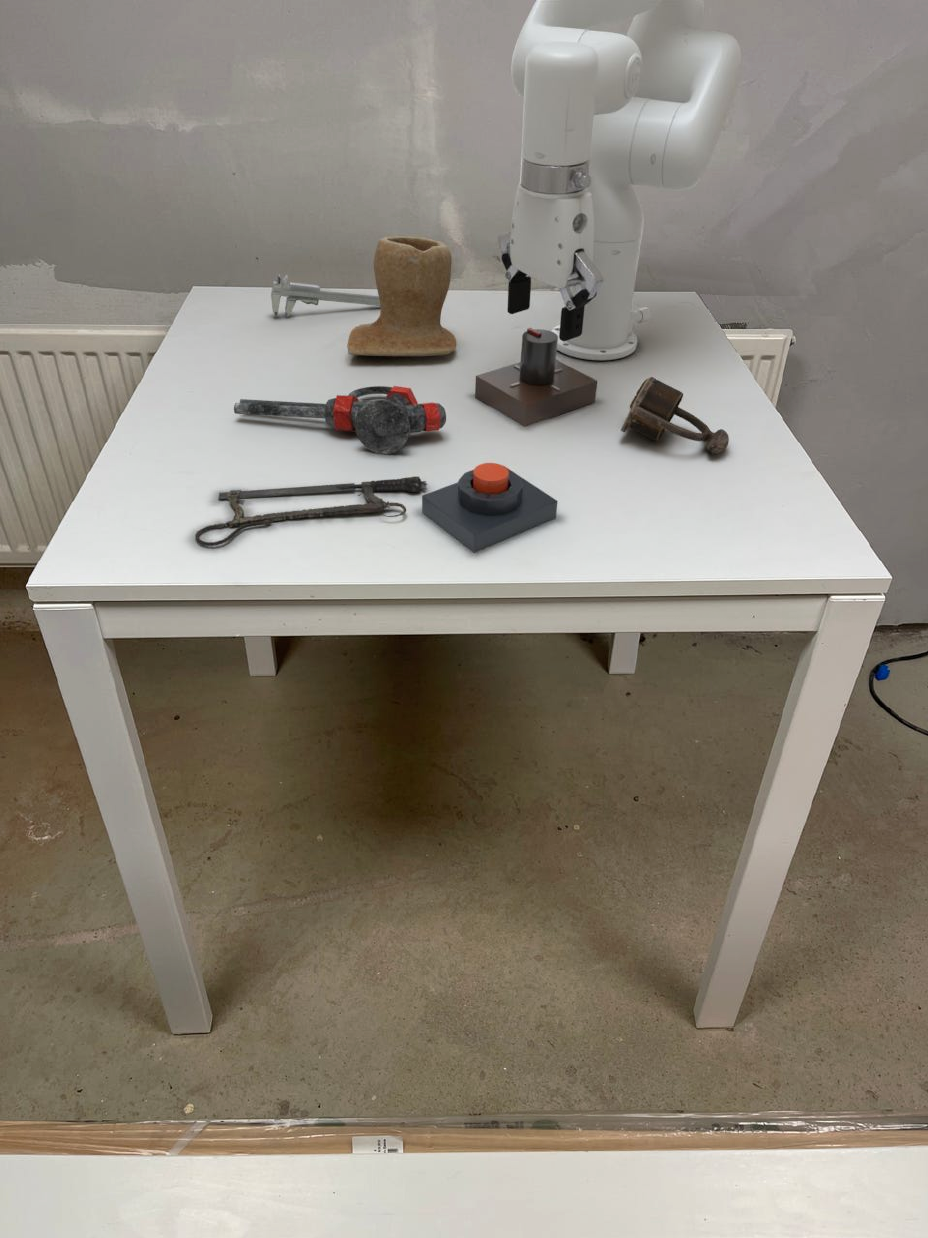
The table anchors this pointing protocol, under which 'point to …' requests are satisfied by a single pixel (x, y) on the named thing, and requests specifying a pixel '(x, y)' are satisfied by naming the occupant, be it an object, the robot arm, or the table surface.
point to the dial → (538, 356)
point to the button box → (488, 511)
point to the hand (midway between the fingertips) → (543, 324)
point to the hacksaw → (368, 487)
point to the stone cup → (408, 300)
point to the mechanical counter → (667, 416)
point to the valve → (362, 415)
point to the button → (490, 478)
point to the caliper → (314, 295)
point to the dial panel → (535, 393)
